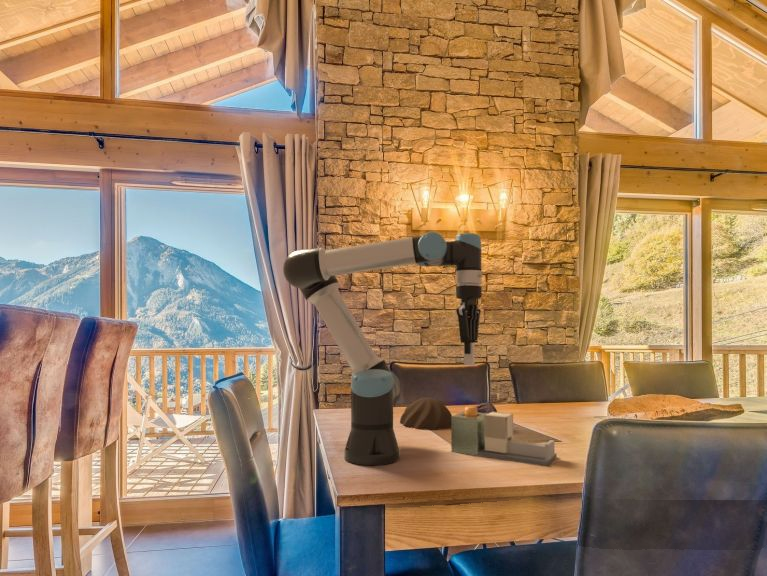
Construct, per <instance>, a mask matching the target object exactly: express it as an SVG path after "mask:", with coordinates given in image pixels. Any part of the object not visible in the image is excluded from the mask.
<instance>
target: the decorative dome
mask: <svg viewBox="0 0 767 576" xmlns="http://www.w3.org/2000/svg"><path fill="white" fill-rule="evenodd" d="M451 416H453V415H452V412H451V411H450V410H449V409H448V408H447V406H446V405H445V404H444V403H443V402H441V401H440V400H438V399H436V398H434V397H430V396H427V397H426V396H425V397H424V396H423V397H421V398H418V399H416V400H414V401H412V402H410V403H409V404H408V405H407V406H406V408H405V409H404V412H403V413H402V414H401V416H400V421H399V423H400V424H401V425H402V426H405V428H411V427H412V429H414V428H415V430H431V429H435V430H439V429H438V428H440V429H450V427H451ZM449 426H450V427H449Z"/></svg>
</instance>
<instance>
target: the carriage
mask: <svg viewBox="0 0 767 576" xmlns="http://www.w3.org/2000/svg"><path fill="white" fill-rule="evenodd" d="M507 439H509V440H514V413H509V412H502V411H501V412H500V411H497V412H491V413H489V414H486V415H485V450H486V451H493V452H500V453H507V452H508V441H507Z"/></svg>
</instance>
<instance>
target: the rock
mask: <svg viewBox="0 0 767 576" xmlns="http://www.w3.org/2000/svg"><path fill="white" fill-rule="evenodd" d="M475 407H477V412H478V413H488V414H489V413H491V412H498V410H497V409H496V407H495V405H494V404H493V403H490V402H482V403H480V404H479V405H476V406H475Z"/></svg>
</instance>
